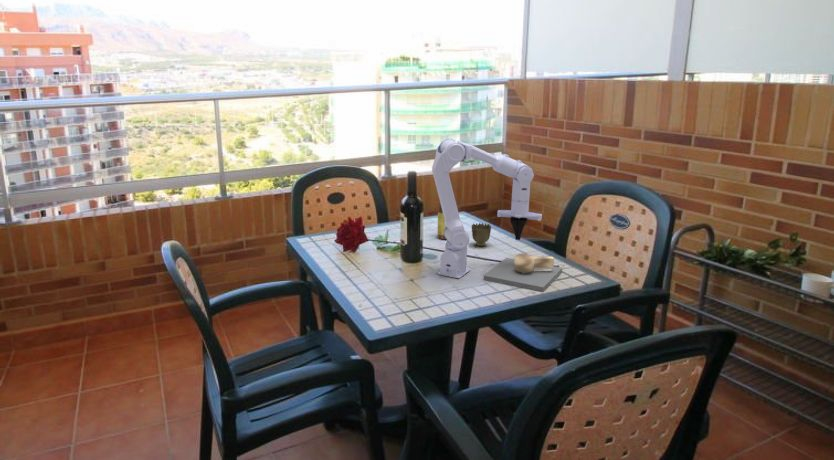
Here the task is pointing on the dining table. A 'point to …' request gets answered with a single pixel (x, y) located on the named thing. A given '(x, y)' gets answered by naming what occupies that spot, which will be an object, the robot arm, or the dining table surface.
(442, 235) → the sauce bottle
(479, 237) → the cup
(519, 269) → the beige rounded piece
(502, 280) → the base plate
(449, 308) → the dining table surface
